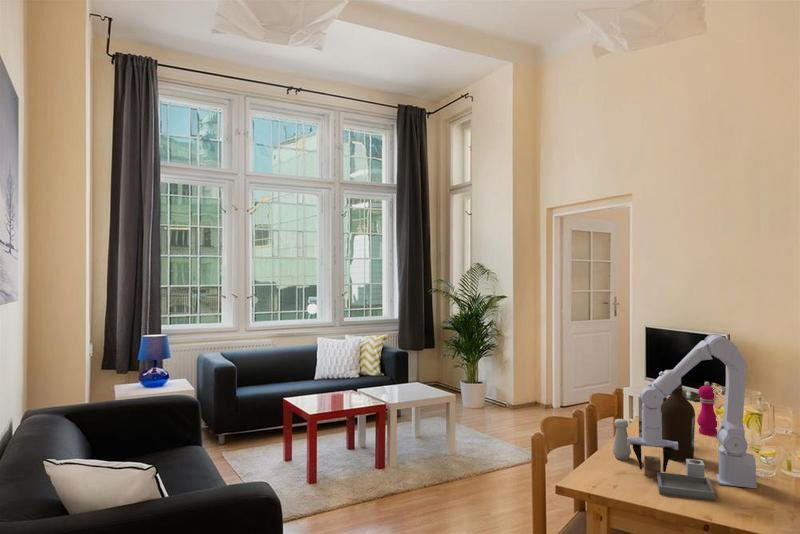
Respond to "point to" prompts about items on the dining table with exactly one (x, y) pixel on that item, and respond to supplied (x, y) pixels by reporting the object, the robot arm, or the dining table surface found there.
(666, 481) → the tray
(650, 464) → the small bore block
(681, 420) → the olive oil
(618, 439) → the salt shaker
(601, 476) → the dining table surface
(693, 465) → the wide bore block
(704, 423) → the pepper mill
